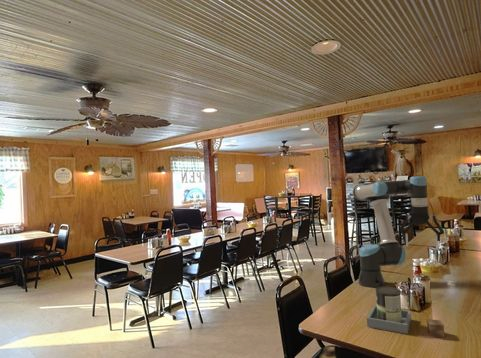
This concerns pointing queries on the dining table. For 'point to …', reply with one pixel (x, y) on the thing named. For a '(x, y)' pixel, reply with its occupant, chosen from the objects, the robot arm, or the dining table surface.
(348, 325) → the dining table surface
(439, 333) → the walnut block
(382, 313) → the coffee can
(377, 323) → the tray
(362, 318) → the dining table surface
